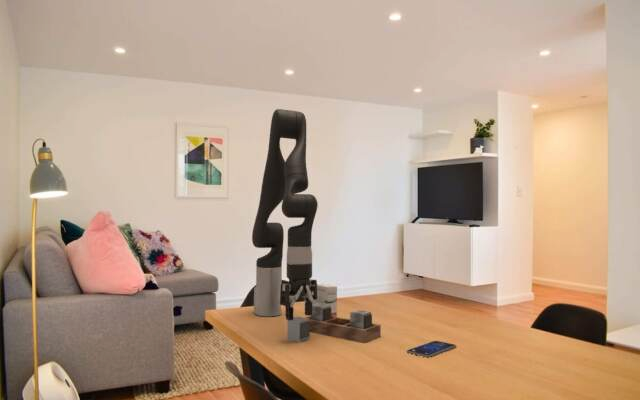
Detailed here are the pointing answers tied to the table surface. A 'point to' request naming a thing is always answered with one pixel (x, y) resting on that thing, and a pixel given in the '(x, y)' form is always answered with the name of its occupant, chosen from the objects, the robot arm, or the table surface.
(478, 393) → the table surface
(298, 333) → the grey cube
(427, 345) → the smartphone
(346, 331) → the wooden compartment tray
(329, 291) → the ink box
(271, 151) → the robot arm
